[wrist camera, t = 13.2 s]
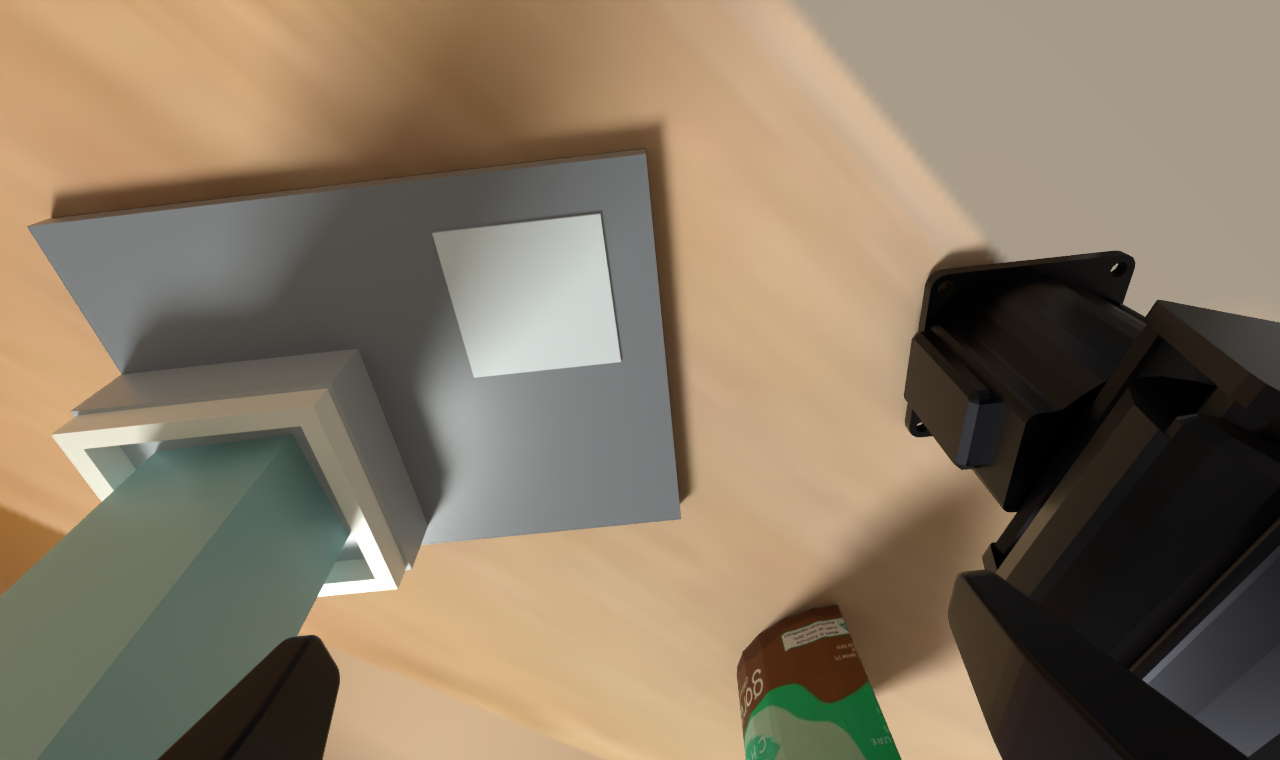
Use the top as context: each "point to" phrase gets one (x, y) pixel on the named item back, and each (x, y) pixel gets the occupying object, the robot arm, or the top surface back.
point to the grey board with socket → (393, 348)
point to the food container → (810, 694)
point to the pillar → (162, 601)
